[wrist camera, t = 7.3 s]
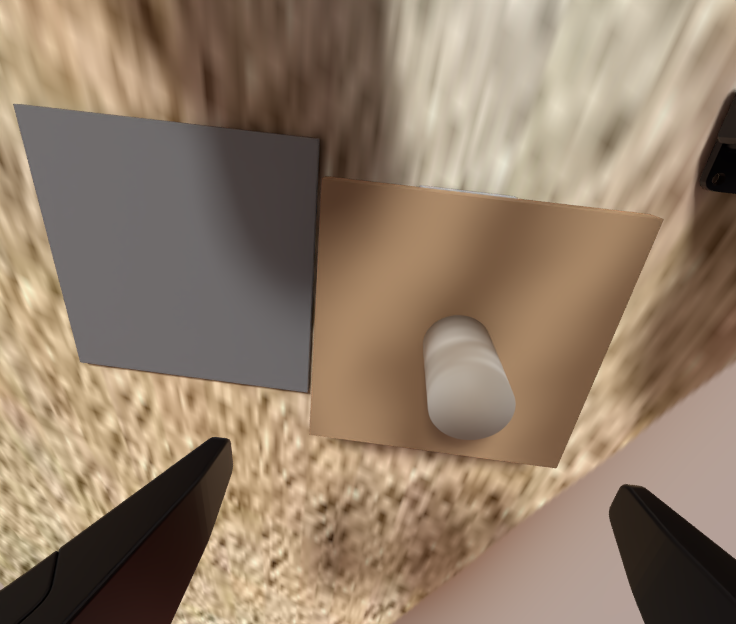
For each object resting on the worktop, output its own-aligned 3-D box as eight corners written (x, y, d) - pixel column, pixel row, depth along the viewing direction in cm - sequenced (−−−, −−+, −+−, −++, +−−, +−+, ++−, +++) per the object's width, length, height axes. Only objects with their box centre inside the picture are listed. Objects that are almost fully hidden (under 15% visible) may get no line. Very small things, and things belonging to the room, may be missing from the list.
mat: (319, 138, 18) (317, 138, 18) (308, 388, 24) (307, 392, 24) (20, 104, 18) (13, 104, 18) (85, 358, 25) (80, 362, 24)
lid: (650, 214, 14) (755, 254, 10) (551, 455, 20) (592, 549, 15) (325, 176, 15) (293, 199, 10) (312, 423, 20) (287, 506, 16)
